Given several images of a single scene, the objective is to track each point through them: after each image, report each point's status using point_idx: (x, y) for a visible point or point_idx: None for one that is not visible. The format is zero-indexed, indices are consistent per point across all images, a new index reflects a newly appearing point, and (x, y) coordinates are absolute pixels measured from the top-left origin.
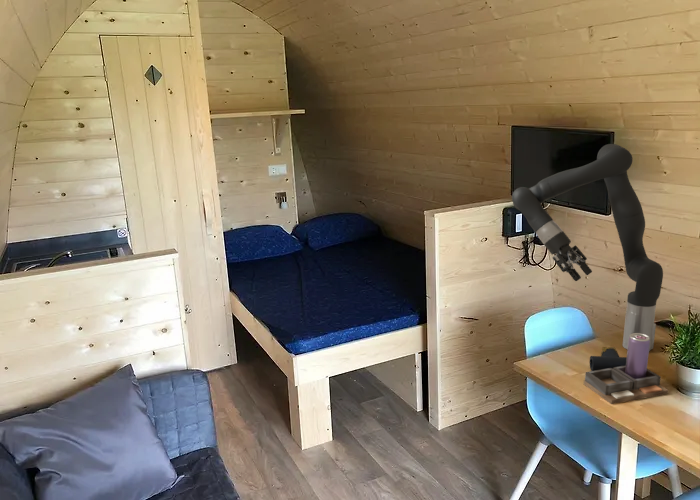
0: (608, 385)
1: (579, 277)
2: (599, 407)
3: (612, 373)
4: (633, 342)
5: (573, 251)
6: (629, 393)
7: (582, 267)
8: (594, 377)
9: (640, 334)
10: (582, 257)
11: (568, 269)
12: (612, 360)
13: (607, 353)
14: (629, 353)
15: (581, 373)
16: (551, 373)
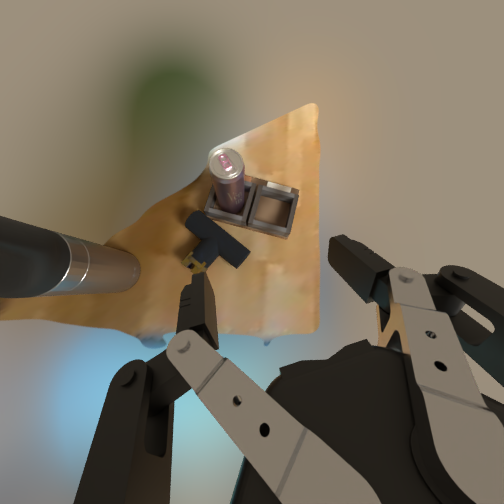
0: (294, 194)
1: (343, 237)
2: (315, 194)
3: (254, 217)
4: (244, 167)
5: (339, 480)
6: (270, 185)
7: (214, 328)
8: (292, 217)
9: (212, 170)
10: (149, 398)
11: (428, 277)
12: (225, 236)
13: (209, 255)
14: (243, 185)
15: (264, 260)
16: (299, 283)
